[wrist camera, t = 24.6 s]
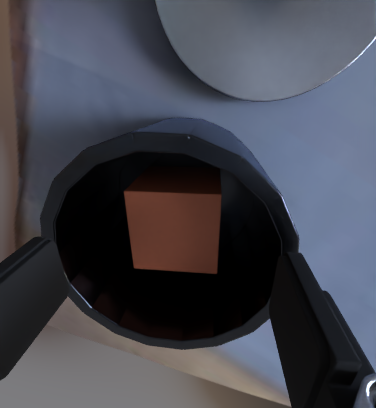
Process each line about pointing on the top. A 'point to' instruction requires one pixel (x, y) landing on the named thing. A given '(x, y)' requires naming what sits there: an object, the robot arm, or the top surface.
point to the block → (175, 218)
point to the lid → (267, 42)
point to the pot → (161, 279)
